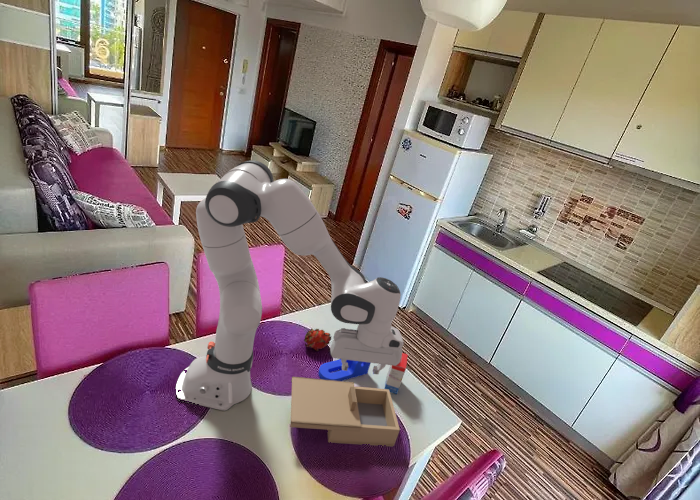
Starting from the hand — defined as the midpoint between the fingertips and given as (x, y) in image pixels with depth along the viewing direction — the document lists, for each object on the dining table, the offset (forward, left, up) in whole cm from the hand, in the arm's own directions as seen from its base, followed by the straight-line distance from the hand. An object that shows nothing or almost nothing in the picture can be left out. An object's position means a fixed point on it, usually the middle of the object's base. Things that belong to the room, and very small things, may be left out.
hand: (359, 370), depth 117 cm
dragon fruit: (-8, +35, -21) cm, 41 cm away
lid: (-8, 0, -14) cm, 16 cm away
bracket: (+1, +22, -21) cm, 30 cm away
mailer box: (+4, 0, -20) cm, 21 cm away
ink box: (+19, +18, -21) cm, 33 cm away
